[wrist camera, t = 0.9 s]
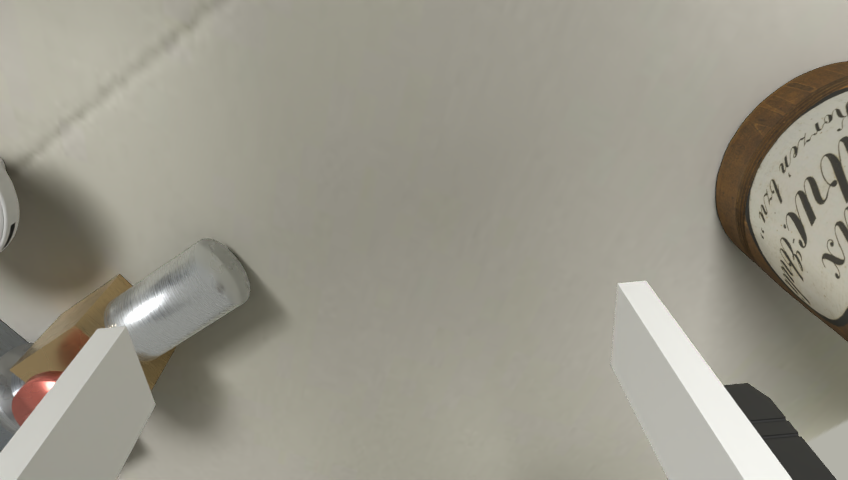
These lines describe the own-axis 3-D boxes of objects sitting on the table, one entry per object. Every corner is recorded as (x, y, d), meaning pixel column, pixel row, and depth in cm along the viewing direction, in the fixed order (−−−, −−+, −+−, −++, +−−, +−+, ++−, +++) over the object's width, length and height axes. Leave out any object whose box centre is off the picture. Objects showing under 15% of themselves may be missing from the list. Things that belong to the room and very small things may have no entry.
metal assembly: (-138, 382, 46) (-270, 487, 37) (161, 164, 39) (88, 228, 30) (19, 491, 52) (-62, 605, 43) (303, 318, 45) (278, 411, 36)
